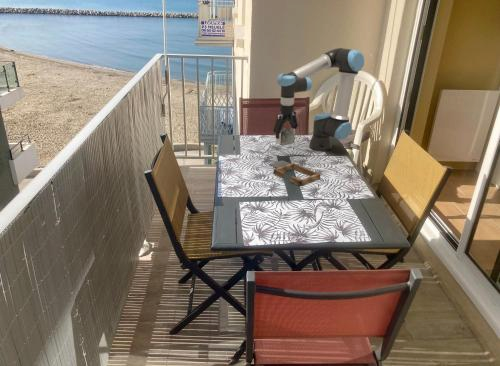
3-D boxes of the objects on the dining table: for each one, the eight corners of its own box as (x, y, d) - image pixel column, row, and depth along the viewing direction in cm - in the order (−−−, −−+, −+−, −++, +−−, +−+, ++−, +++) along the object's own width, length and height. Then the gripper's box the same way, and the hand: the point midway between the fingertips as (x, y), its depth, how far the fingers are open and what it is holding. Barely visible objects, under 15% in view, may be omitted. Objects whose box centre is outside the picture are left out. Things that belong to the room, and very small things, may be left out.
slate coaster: (282, 161, 255) (282, 160, 255) (294, 166, 247) (294, 165, 247) (268, 165, 249) (268, 164, 248) (281, 170, 241) (281, 169, 241)
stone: (288, 129, 232) (287, 123, 241) (274, 140, 235) (274, 134, 244) (299, 141, 235) (297, 135, 244) (285, 152, 238) (284, 145, 247)
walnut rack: (293, 167, 245) (293, 163, 244) (320, 179, 231) (320, 174, 230) (273, 174, 236) (273, 169, 235) (300, 186, 221) (300, 181, 220)
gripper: (295, 99, 241) (293, 135, 250) (267, 106, 226) (266, 144, 235) (305, 102, 236) (303, 138, 245) (277, 109, 221) (276, 147, 230)
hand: (285, 141), depth 240 cm, fingers closed on stone, 11 cm apart
